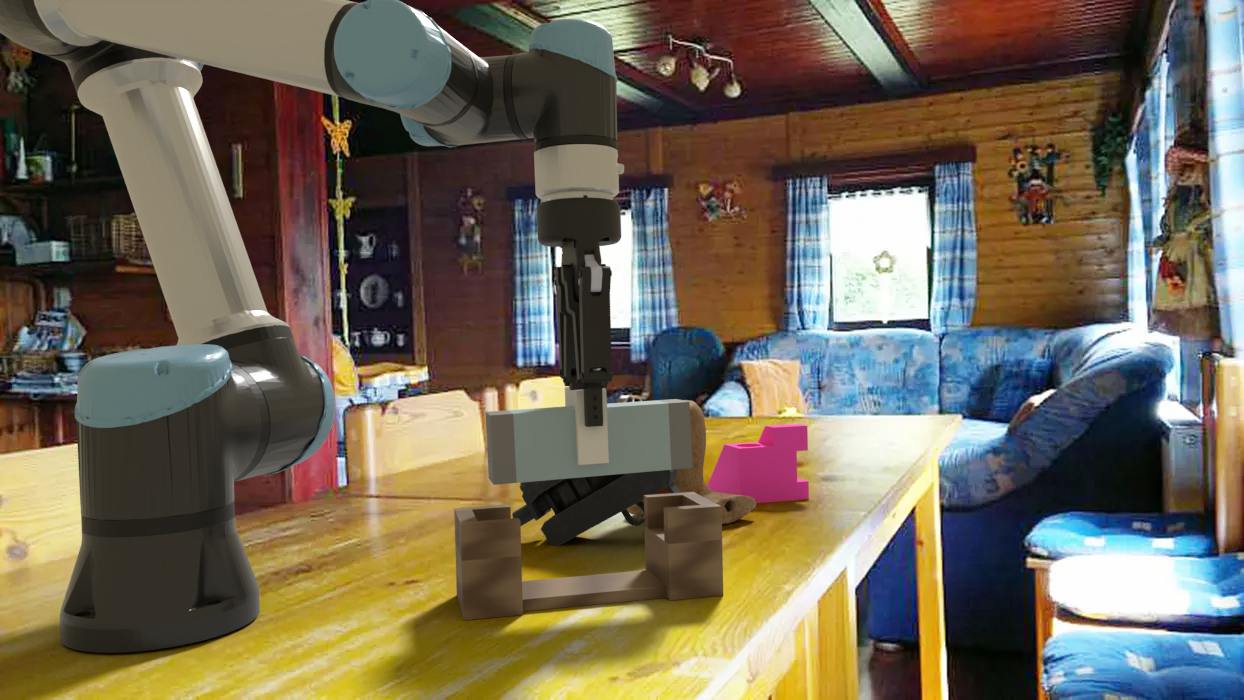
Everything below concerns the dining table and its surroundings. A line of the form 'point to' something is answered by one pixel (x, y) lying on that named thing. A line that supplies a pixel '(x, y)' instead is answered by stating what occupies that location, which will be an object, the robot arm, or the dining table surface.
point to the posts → (675, 569)
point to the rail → (548, 441)
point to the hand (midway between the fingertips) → (587, 459)
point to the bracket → (764, 466)
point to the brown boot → (693, 477)
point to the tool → (589, 500)
